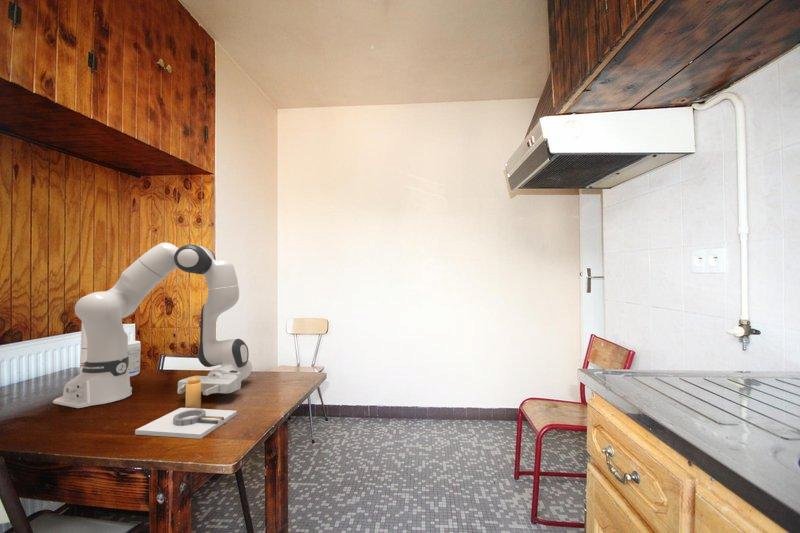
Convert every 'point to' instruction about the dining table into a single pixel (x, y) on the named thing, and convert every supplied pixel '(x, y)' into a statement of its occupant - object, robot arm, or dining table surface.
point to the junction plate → (184, 430)
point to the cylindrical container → (83, 347)
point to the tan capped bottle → (193, 393)
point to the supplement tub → (134, 357)
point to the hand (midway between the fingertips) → (191, 392)
